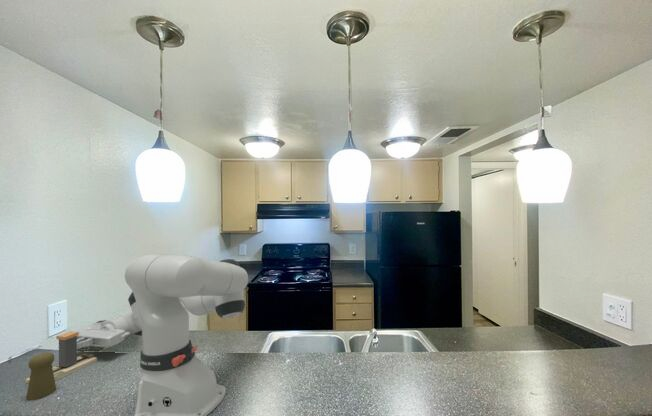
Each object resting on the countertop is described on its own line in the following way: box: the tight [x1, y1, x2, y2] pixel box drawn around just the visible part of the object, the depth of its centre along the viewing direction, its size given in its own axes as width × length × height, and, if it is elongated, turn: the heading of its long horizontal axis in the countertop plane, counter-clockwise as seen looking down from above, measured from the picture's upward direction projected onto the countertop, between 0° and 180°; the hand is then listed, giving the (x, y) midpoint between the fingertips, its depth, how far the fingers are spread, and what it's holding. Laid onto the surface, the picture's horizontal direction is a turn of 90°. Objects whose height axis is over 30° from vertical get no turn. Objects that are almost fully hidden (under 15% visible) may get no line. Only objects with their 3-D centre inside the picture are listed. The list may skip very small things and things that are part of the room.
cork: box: [25, 352, 57, 402], centre depth 79 cm, size 6×6×11 cm
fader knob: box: [56, 330, 79, 367], centre depth 92 cm, size 4×4×10 cm
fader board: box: [25, 352, 98, 385], centre depth 90 cm, size 8×15×2 cm, turn 164°
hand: (72, 347), depth 94 cm, fingers closed, pressing on fader knob
